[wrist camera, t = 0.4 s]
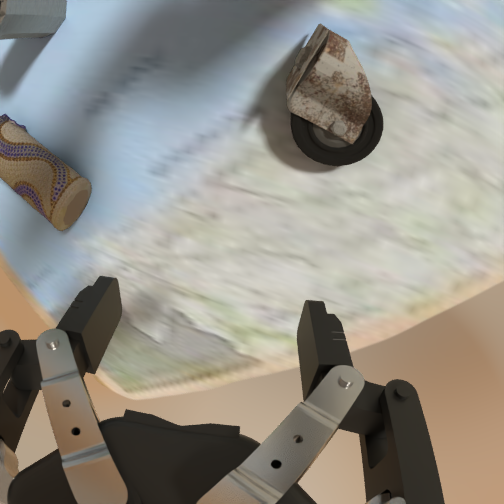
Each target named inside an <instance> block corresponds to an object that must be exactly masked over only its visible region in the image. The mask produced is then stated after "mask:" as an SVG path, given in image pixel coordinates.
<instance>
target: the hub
mask: <svg viewBox="0 0 504 504" xmlns="http://www.w3.org/2000/svg"><path fill="white" fill-rule="evenodd" d="M66 5H67V1H66V0H0V40H2V39H18V38H43V37H45V36H48V35H51V34H54V33H56V31H57V30H58V28H59V27H60V25H61V24H62V22H63V21H64V19H65V18H66Z"/></svg>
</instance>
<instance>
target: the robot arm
mask: <svg viewBox="0 0 504 504" xmlns="http://www.w3.org/2000/svg"><path fill="white" fill-rule="evenodd" d="M121 314H122V303H121V297H120V290H119V283H118V280H117V278H112V277H105V276H100V277H99V278H98V279H97V281H96V282H95V284H94V285H93V286H87V287H86V288H84V289H83V290H82V291H80V292H79V294H78V295H77V297H76V298H75V301H73V303H72V304H71V306H70V307H69V309H68V310H67V312H66V313H65V315H64V316H63V318H62V319H61V321H60V322H59V324H58V325H57V327H56V329H50V330H47V331H45V332H43V333H42V334H41V335H40V336H39V337H38V339H37V340H21V339H20V337H19V334H18V333H17V332H15V331H13V330H5V331H2V332H0V504H317V503H316V502H315V501H314V500H313V499H312V498H311V497H310V496H309V495H308V494H307V493H306V492H305V491H304V490H303V489H302V488H301V487H300V486H299V484H298V481H299V480H300V479H301V478H302V477H303V475H304V474H305V473H306V472H307V470H308V469H309V468H310V466H311V465H312V464H313V462H314V461H315V460H316V458H317V457H318V456H319V454H320V453H321V452H322V450H323V449H324V448H325V446H326V445H327V444H328V442H329V441H330V440H331V438H332V437H333V435H334V434H335V432H336V431H337V430H338V429H342V430H346V431H350V432H354V433H358V434H359V437H360V445H361V453H362V462H363V471H364V481H365V491H366V503H365V504H445V503H444V498H443V493H442V488H441V483H440V478H439V474H438V469H437V465H436V461H435V456H434V452H433V448H432V444H431V441H430V436H429V432H428V429H427V425H426V421H425V418H424V414H423V411H422V407H421V404H420V401H419V397H418V394H417V391H416V389H415V388H414V387H413V386H412V385H411V384H410V383H408V382H407V381H404V380H398V379H396V380H392V381H390V382H388V383H387V385H386V386H381V385H378V384H374V383H370V382H367V381H365V380H364V378H363V376H362V374H361V373H360V372H359V371H358V370H357V369H355V368H354V367H353V364H352V360H351V356H350V352H349V349H348V345H347V341H346V338H345V334H344V330H343V327H342V323H341V322H340V320H339V319H338V318H337V317H336V316H335V314H327V312H326V308H325V304H324V302H323V301H312V300H306V301H305V303H304V307H303V311H302V314H301V318H300V322H299V326H298V331H297V345H298V354H299V363H300V371H301V381H302V390H303V400H304V403H302V402H301V403H299V404H298V405H297V406H296V407H295V408H294V409H293V410H292V412H291V413H290V414H289V415H288V416H287V417H286V418H285V419H284V420H283V422H282V423H281V424H280V425H279V426H278V427H277V428H276V429H275V430H274V431H273V432H272V434H271V435H270V436H269V437H268V438H267V439H266V440H265V441H264V442H263V443H262V444H260V443H258V442H257V441H255V440H253V439H252V438H249V437H247V436H245V435H242V434H239V433H240V427H239V426H231V425H220V424H211V423H210V424H200V425H188V426H180V425H176V424H174V423H171V422H169V421H166V420H164V419H162V418H159V417H157V416H154V415H152V414H146V413H141V412H136V411H131V410H127V409H126V411H125V414H124V417H115V418H110V419H107V420H104V421H101V422H100V420H99V417H98V415H97V413H96V410H95V408H94V406H93V403H92V400H91V398H90V395H89V392H88V390H87V387H86V384H85V382H84V379H83V377H84V375H85V373H86V372H88V373H92V374H95V373H96V371H97V369H98V366H99V364H100V362H101V360H102V357H103V355H104V353H105V351H106V349H107V346H108V344H109V342H110V340H111V338H112V336H113V333H114V331H115V329H116V327H117V325H118V323H119V321H120V318H121ZM9 379H10V380H9ZM8 380H9V382H8ZM7 382H8V384H7ZM6 384H7V386H6ZM5 386H6V389H5V390H4V388H5ZM39 390H42V392H43V396H44V400H45V404H46V408H47V412H48V416H49V419H50V423H51V426H52V430H53V433H54V436H55V439H56V443H57V446H58V449H56V450H55V451H53V452H52V453H50V454H48V455H47V456H45V457H44V458H42V459H40V460H39V461H37V462H35V463H34V464H32V465H30V466H29V467H27V468H25V469H24V470H22V471H21V472H19V470H18V459H17V457H16V455H15V451H16V448H17V445H18V442H19V440H20V437H21V434H22V432H23V429H24V426H25V424H26V421H27V418H28V416H29V414H30V411H31V409H32V406H33V404H34V401H35V399H36V397H37V394H38V392H39ZM3 391H4V392H3Z"/></svg>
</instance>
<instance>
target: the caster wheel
mask: <svg viewBox="0 0 504 504" xmlns="http://www.w3.org/2000/svg"><path fill="white" fill-rule="evenodd" d="M287 99H288V101H287V107H288V109H289V110H290V111H291V129H292V134H293V138H294V140H295V142H296V144H297V145H298V147H299V148H300V149H301V150H302V152H303V153H305V154H306V155H307V156H308V157H310V158H311V159H313V160H315V161H317V162H320V163H322V164H326V165H332V166H342V165H349V164H352V163H355V162H358V161H360V160H362V159H363V158H365V157H366V156H368V155H369V154H370V153H371V152H372V151H373V150H374V149H375V147H376V146H377V144H378V143H379V140H380V138H381V135H382V131H383V116H382V113H381V110H380V108H379V106H378V104H377V102H376V100H375V99H374V98H373V96H372V95H371V91H370V87H369V83H368V80H367V77H366V75H365V72H364V70H363V68H362V66H361V64H360V62H359V60H358V58H357V56H356V54H355V53H354V51H353V49H352V47H351V44H350V42H349V41H348V40H346V39H345V38H343V37H341V36H339V35H338V34H336V33H334V32H332V31H331V30H329V29H327V28H326V27H325V26H323V25H322V24H319V25H318V26H317V28H316V30H315V31H314V33H313V35H312V36H311V38H310V40H309V41H308V43H307V45H306V46H305V47H304V48H302V49H301V50H300V51H299V53H298V55H297V57H296V59H295V65H294V67H293V69H292V70H291V72H290V74H289V76H288V77H287V84H286V100H287Z"/></svg>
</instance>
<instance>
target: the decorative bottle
mask: <svg viewBox="0 0 504 504" xmlns="http://www.w3.org/2000/svg"><path fill="white" fill-rule="evenodd" d="M25 129H26V127H25V126H24V125H19V124H17V123H16V122H15V121H14V120H12V119H10V118H9V117H8V116H7V114H3V115H2V116H0V177H1V178H2V179H3V180H4V181H5V182H6V183H7V184H8V185H9V186H10V187H11V188H12V189H13V190H14V191H15V192H16V193H17V194H19V195H20V196H22V198H23V199H24V200H26V201H27V202H28V203H29V204H30V205H31V206H32V207H33V208H34V209H36V210H37V211H38V212H39V213H40V214H42V215H43V216H44V217H45V218H46V219H47V220H48V221H49V222H50V223H52V224H53V226H54V227H55V228H56V229H58V230H59V231H63V230H65V229H67V228H69V227H70V226H71V225H72V224H73V223H74V222H75V221H76V220H77V218H78V217H79V216H80V215H81V213H82V211H83V210H84V208H85V207H86V205H87V203H88V200H89V197H90V194H91V189H92V188H91V183H90V182H89V180H88V179H86V178H83V177H81V176H80V175H79V174H78V173H76V172H75V171H74V170H73V169H72V168H71V167H69V166H68V165H67V164H65V163H64V162H63V161H61V160H60V159H59V158H58V157H56V156H55V155H54V154H53V153H51V152H50V151H49V150H48V149H47V148H45V147H44V146H43V145H42V144H40V143H39V142H38V141H36V139H35V138H33V137H32V136H31V135H29V134H28V133H27V132H26V131H25Z"/></svg>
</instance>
